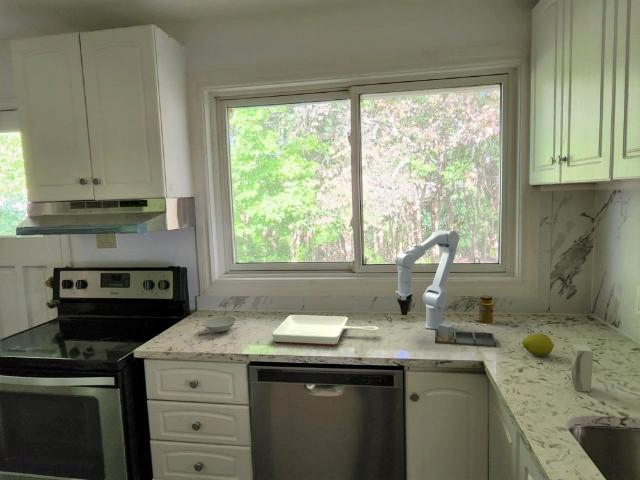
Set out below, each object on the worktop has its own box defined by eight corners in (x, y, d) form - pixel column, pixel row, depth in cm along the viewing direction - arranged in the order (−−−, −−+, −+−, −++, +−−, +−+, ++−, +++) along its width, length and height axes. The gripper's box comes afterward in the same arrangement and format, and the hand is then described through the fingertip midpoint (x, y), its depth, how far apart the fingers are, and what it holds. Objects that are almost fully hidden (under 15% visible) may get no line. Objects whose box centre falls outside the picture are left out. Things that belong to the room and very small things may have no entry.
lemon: (551, 352, 156) (552, 331, 155) (557, 360, 149) (557, 339, 148) (519, 350, 159) (520, 330, 158) (523, 358, 152) (524, 337, 151)
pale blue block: (443, 334, 176) (443, 323, 176) (452, 337, 172) (452, 326, 171) (438, 336, 175) (438, 324, 174) (447, 339, 171) (447, 327, 170)
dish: (225, 339, 182) (224, 328, 181) (196, 336, 186) (195, 325, 186) (244, 326, 199) (243, 316, 198) (217, 324, 203) (216, 314, 202)
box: (570, 383, 131) (571, 343, 130) (586, 385, 130) (588, 344, 129) (575, 391, 126) (576, 350, 125) (592, 392, 125) (593, 351, 124)
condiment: (497, 322, 193) (497, 297, 192) (483, 325, 189) (484, 299, 188) (484, 318, 200) (484, 294, 198) (471, 321, 196) (471, 296, 195)
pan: (290, 324, 202) (289, 314, 201) (381, 327, 192) (381, 317, 192) (270, 345, 174) (270, 334, 174) (376, 350, 165) (376, 338, 164)
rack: (435, 334, 179) (435, 329, 179) (493, 338, 173) (493, 333, 173) (434, 342, 170) (434, 337, 170) (496, 346, 164) (496, 341, 163)
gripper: (397, 277, 188) (397, 307, 189) (393, 284, 174) (393, 316, 175) (413, 278, 186) (413, 308, 187) (410, 285, 172) (411, 317, 173)
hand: (405, 312), depth 181 cm, fingers open, 7 cm apart
